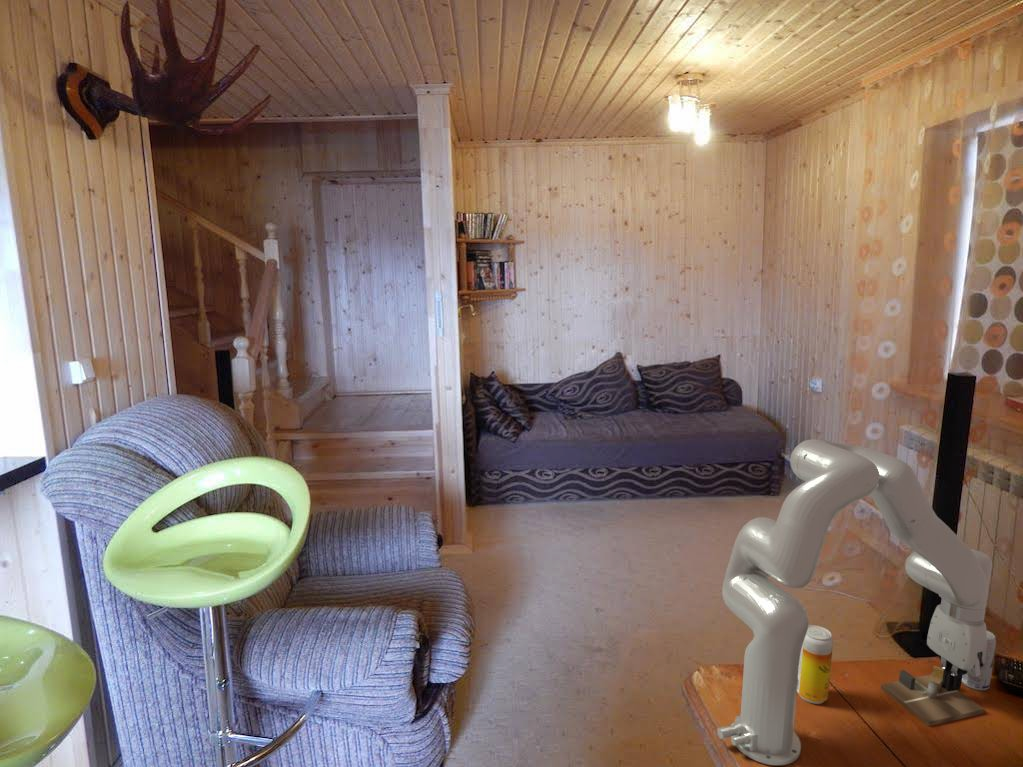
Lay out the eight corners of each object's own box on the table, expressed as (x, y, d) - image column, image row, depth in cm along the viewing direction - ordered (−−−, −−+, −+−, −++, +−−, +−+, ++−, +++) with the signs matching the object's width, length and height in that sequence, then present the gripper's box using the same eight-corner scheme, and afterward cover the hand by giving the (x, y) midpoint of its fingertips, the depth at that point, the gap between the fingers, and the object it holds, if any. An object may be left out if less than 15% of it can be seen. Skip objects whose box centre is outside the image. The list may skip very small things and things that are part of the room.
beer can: (830, 707, 137) (837, 641, 134) (799, 703, 138) (805, 638, 135) (823, 688, 143) (829, 625, 140) (793, 685, 144) (798, 622, 141)
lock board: (928, 726, 131) (931, 708, 130) (881, 688, 142) (882, 672, 142) (983, 713, 135) (986, 695, 134) (932, 677, 146) (934, 661, 145)
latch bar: (938, 694, 139) (940, 679, 138) (927, 690, 140) (929, 676, 139) (942, 683, 142) (944, 668, 142) (932, 679, 144) (933, 665, 143)
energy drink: (988, 681, 145) (995, 631, 143) (990, 694, 140) (997, 643, 138) (959, 673, 148) (965, 624, 145) (959, 686, 143) (966, 635, 141)
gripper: (917, 593, 142) (907, 669, 145) (980, 630, 128) (967, 714, 131) (946, 589, 144) (935, 665, 147) (1011, 625, 129) (998, 708, 133)
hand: (950, 688), depth 139 cm, fingers closed
